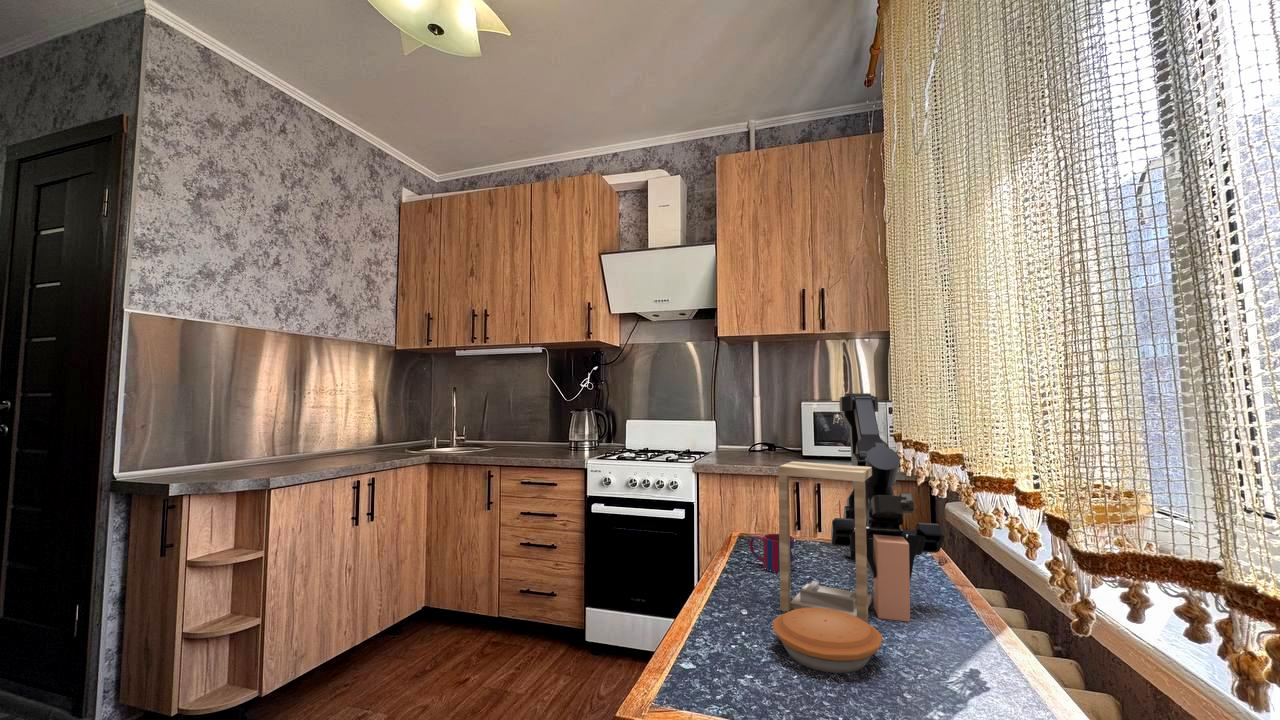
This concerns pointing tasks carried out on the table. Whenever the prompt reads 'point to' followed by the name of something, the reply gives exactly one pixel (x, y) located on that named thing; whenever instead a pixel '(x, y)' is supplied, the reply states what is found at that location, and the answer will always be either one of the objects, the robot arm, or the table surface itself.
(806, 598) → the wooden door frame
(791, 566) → the mug
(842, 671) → the pie
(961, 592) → the table surface
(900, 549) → the block
